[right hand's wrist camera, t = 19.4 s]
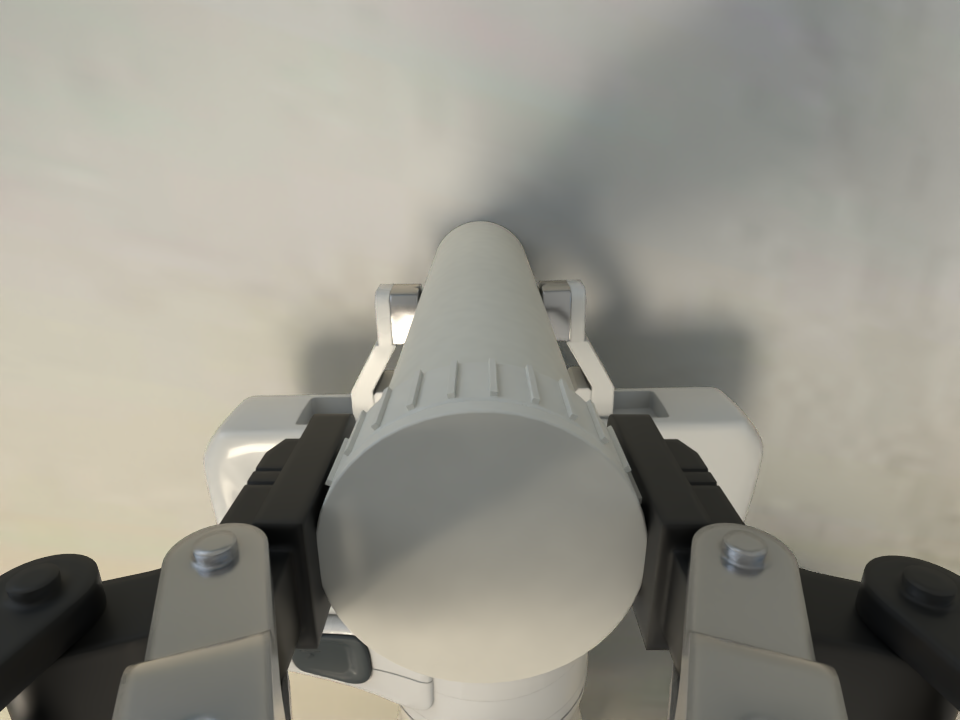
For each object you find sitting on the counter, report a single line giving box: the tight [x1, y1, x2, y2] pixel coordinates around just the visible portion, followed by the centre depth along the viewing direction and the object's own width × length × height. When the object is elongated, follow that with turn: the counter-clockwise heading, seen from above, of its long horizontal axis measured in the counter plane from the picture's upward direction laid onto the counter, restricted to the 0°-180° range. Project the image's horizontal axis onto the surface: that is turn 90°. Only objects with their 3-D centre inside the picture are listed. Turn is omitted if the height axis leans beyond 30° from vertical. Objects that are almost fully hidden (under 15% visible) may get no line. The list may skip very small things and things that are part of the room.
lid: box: [316, 358, 647, 683], centre depth 10 cm, size 5×5×2 cm
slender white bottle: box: [389, 221, 575, 392], centre depth 19 cm, size 4×4×19 cm
